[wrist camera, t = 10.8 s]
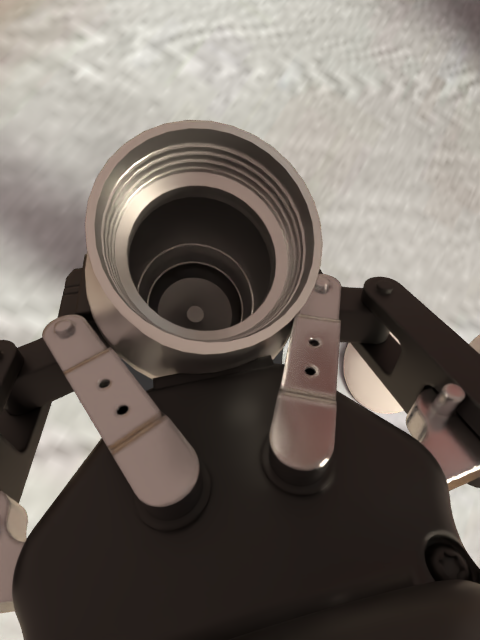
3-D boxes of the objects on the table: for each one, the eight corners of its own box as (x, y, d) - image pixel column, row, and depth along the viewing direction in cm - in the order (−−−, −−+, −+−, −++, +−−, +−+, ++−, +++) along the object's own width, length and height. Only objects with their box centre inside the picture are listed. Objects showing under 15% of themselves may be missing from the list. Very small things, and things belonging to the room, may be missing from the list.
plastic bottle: (207, 377, 25) (269, 539, 5) (128, 322, 24) (-139, 272, 5) (257, 305, 26) (481, 206, 6) (182, 250, 25) (153, -61, 5)
